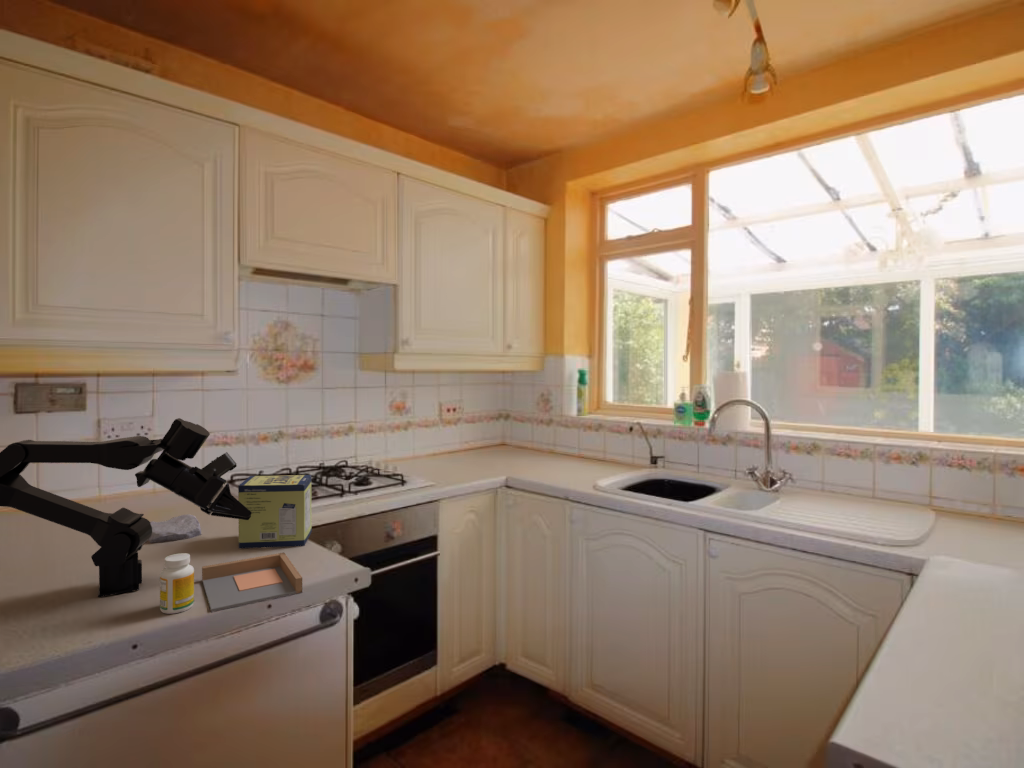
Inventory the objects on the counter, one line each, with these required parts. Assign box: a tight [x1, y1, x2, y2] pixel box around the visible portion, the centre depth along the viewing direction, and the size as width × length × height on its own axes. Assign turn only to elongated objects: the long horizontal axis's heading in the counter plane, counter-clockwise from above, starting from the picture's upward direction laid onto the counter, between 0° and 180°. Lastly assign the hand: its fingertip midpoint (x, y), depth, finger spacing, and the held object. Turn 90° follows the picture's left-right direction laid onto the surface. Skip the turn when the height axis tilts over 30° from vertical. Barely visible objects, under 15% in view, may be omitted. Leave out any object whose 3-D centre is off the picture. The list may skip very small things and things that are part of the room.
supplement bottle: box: [159, 552, 195, 615], centre depth 102 cm, size 5×5×10 cm
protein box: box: [237, 474, 313, 549], centre depth 138 cm, size 10×16×16 cm
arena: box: [201, 552, 303, 613], centre depth 112 cm, size 16×16×3 cm
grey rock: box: [148, 513, 202, 544], centre depth 140 cm, size 12×5×10 cm
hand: (250, 516), depth 114 cm, fingers open, 9 cm apart
